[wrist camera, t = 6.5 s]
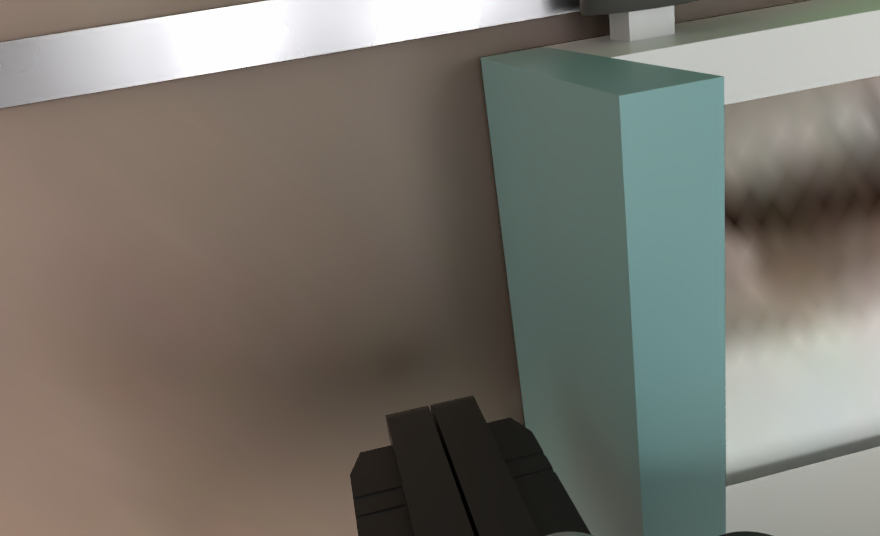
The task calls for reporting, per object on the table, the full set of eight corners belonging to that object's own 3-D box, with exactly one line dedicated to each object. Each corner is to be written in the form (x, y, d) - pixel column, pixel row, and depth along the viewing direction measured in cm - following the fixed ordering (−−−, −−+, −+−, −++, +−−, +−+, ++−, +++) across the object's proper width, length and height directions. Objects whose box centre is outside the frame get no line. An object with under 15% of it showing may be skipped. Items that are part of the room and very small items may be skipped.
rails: (-268, 84, 11) (-282, 86, 11) (1370, -173, 16) (1390, -175, 15) (53, 737, 17) (49, 749, 17) (1205, 420, 21) (1217, 426, 21)
